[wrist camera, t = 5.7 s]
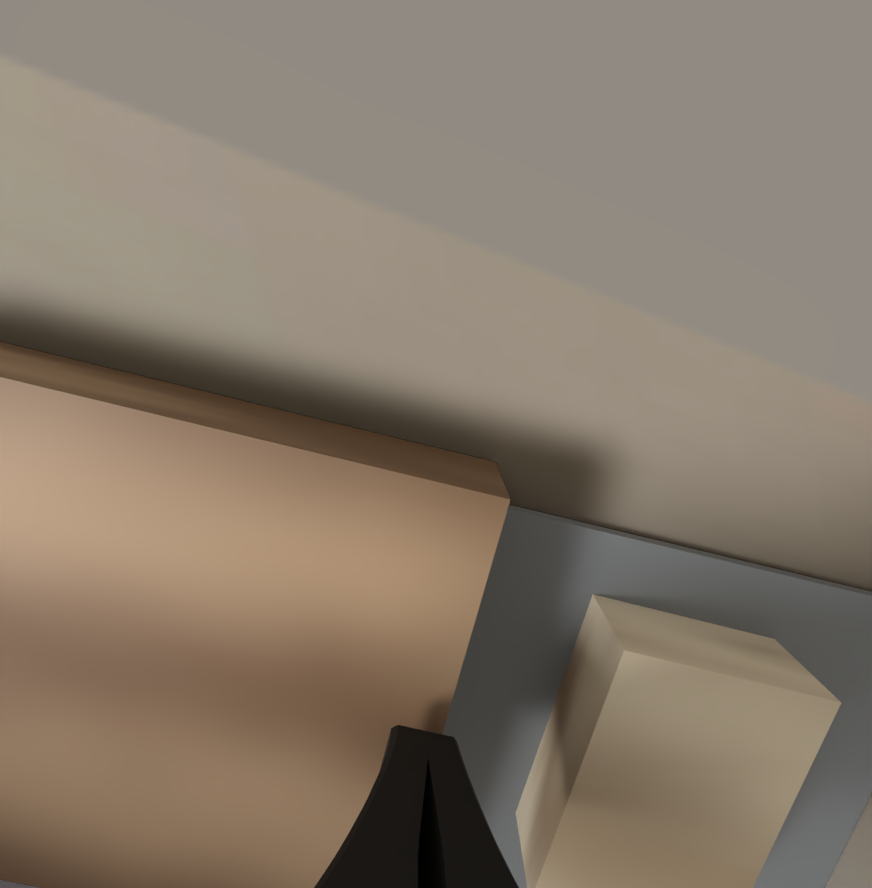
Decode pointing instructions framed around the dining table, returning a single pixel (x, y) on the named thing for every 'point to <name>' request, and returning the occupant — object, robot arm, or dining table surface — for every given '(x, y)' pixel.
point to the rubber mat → (677, 592)
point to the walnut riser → (214, 625)
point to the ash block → (668, 754)
